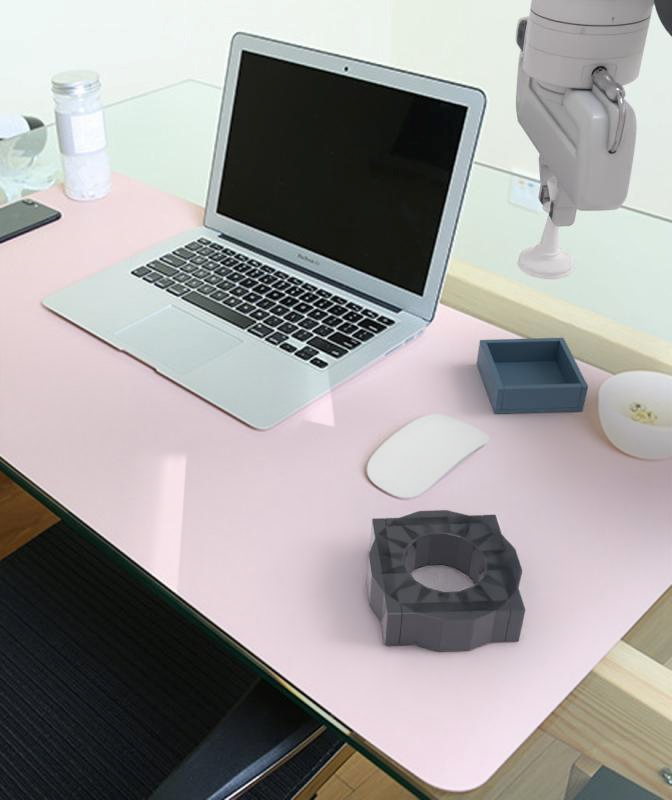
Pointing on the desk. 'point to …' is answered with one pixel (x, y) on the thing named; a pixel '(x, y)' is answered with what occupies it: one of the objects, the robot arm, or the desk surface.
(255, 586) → the desk surface
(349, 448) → the desk surface
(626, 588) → the desk surface
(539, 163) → the robot arm
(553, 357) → the basin tray
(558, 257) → the chess piece
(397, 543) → the dark grey ring block
